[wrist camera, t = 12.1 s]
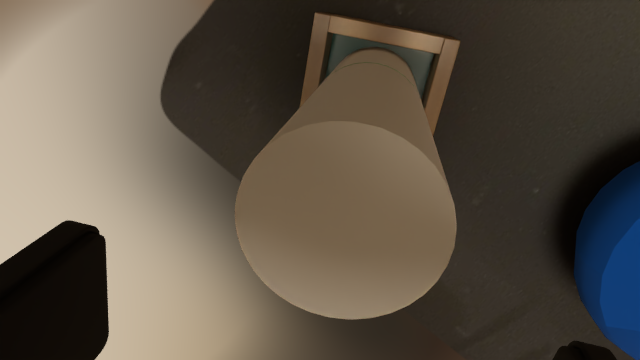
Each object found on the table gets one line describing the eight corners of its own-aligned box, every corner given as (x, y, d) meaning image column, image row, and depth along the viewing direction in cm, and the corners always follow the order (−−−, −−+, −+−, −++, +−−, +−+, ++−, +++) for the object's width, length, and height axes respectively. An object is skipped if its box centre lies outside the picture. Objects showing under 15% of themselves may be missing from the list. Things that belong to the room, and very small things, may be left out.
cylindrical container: (314, 94, 38) (195, 232, 15) (368, 27, 35) (325, 69, 12) (375, 146, 39) (353, 352, 16) (433, 85, 36) (508, 225, 13)
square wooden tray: (302, 135, 40) (293, 149, 36) (322, 11, 36) (314, 12, 32) (418, 160, 39) (421, 177, 36) (453, 37, 35) (461, 40, 31)
